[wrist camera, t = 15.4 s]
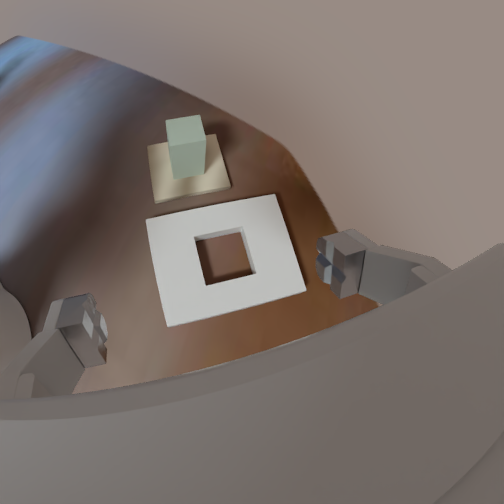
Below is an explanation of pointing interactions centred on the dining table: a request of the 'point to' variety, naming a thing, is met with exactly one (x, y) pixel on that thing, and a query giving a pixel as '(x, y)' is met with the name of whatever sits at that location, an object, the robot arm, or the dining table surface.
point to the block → (186, 146)
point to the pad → (189, 186)
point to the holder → (232, 291)
